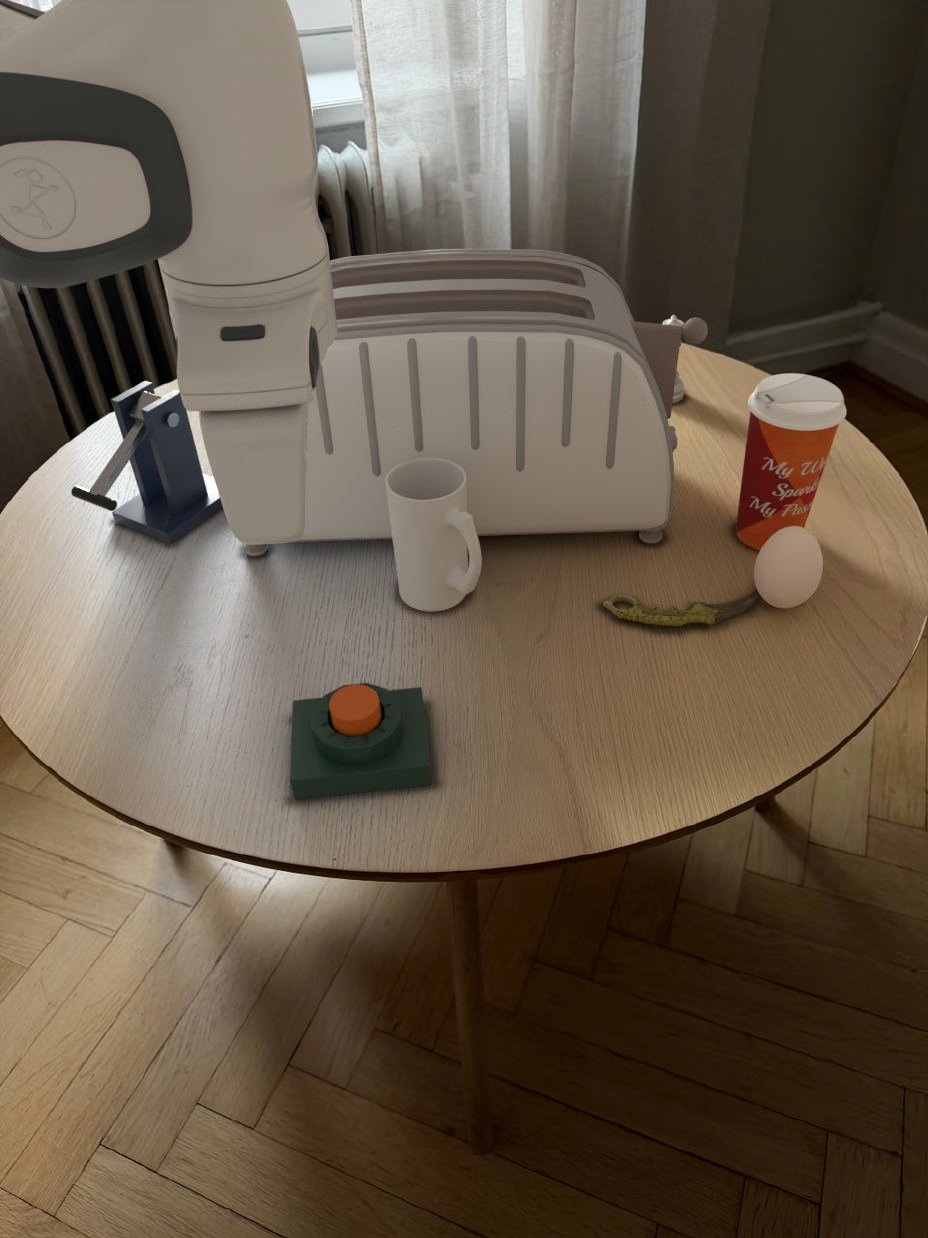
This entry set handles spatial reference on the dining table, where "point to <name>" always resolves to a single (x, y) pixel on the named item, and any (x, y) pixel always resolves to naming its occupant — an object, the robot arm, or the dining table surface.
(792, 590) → the egg
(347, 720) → the button
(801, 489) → the coffee cup
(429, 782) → the button box
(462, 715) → the dining table surface
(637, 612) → the knife
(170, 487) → the bracket
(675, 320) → the chess piece
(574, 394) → the toaster
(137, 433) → the lever
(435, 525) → the mug
